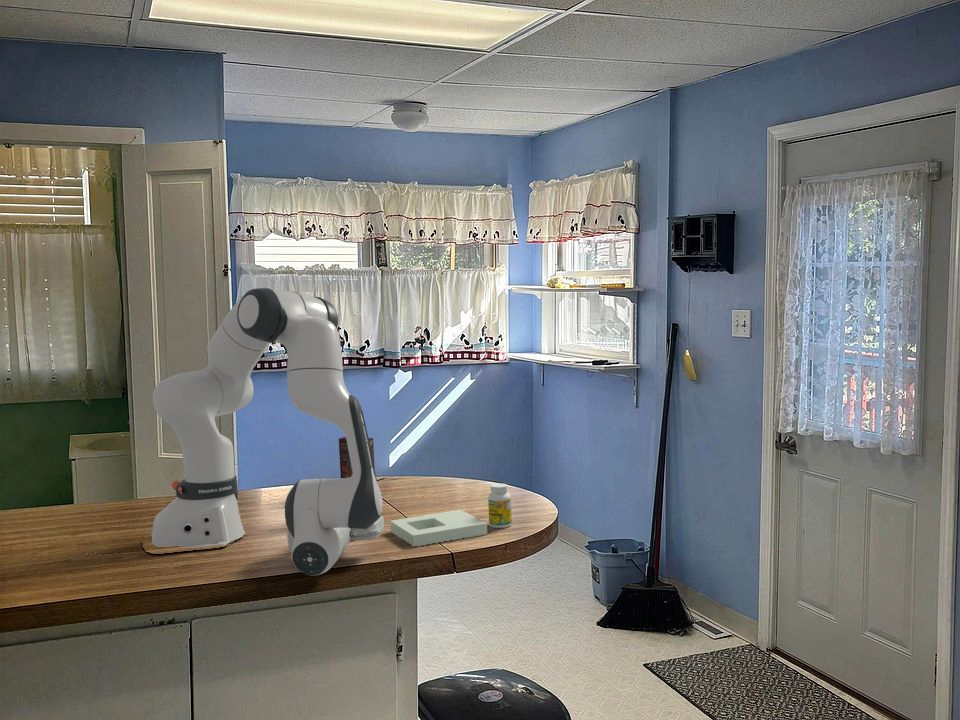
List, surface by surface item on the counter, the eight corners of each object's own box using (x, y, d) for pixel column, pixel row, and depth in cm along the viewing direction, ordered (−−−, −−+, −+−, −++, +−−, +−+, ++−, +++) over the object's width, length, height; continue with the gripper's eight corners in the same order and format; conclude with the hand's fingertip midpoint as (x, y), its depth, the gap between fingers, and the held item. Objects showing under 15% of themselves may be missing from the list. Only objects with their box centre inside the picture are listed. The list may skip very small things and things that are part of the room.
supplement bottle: (515, 523, 217) (514, 483, 216) (505, 529, 212) (504, 488, 211) (495, 521, 220) (494, 481, 219) (484, 527, 215) (483, 486, 214)
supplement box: (376, 495, 248) (374, 437, 247) (365, 499, 244) (362, 440, 243) (351, 492, 253) (349, 435, 251) (340, 496, 249) (337, 438, 247)
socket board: (413, 547, 201) (413, 535, 201) (390, 531, 213) (390, 520, 213) (487, 534, 209) (486, 523, 209) (460, 520, 221) (460, 509, 221)
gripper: (378, 519, 189) (389, 502, 202) (280, 520, 190) (297, 503, 204) (379, 549, 189) (390, 530, 203) (281, 550, 191) (298, 531, 204)
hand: (342, 516), depth 203 cm, fingers open, 8 cm apart
